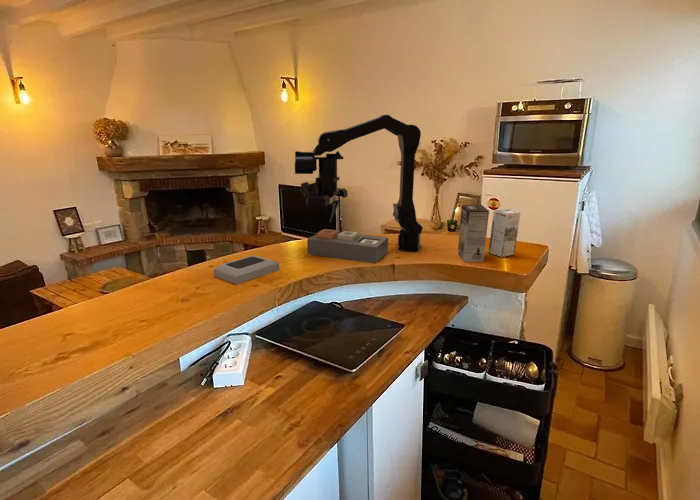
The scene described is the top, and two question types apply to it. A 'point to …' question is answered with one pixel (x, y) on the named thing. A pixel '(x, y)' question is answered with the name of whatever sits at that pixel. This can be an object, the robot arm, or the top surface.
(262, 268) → the grey flat block
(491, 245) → the syrup box
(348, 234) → the sage key
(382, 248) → the gray keypad housing
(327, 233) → the terracotta key
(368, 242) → the cream key
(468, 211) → the coffee box
